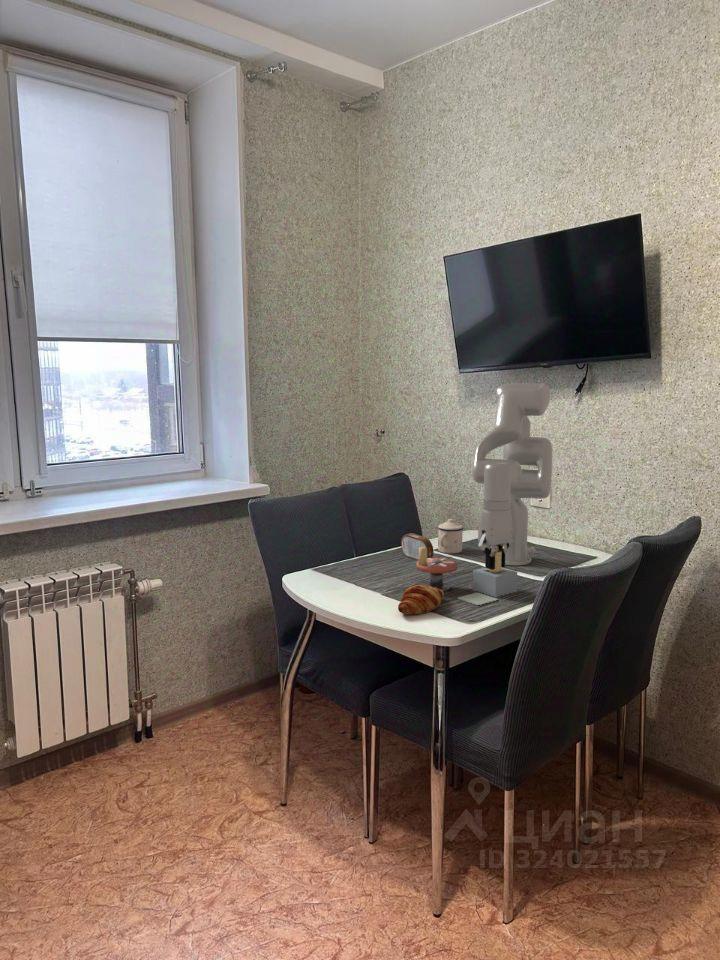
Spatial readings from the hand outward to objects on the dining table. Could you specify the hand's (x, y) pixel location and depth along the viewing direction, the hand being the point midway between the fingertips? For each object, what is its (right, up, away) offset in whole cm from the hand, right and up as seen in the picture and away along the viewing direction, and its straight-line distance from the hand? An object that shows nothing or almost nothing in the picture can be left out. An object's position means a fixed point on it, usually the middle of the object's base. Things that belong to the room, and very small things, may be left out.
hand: (495, 566), depth 207 cm
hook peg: (0, -7, +1) cm, 7 cm away
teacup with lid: (-8, -1, +48) cm, 49 cm away
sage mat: (-6, -8, -7) cm, 13 cm away
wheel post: (-17, -7, +4) cm, 18 cm away
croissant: (-22, -10, -14) cm, 28 cm away
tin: (-20, -2, +38) cm, 43 cm away
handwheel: (-17, -1, +3) cm, 17 cm away
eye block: (0, -7, +1) cm, 7 cm away
